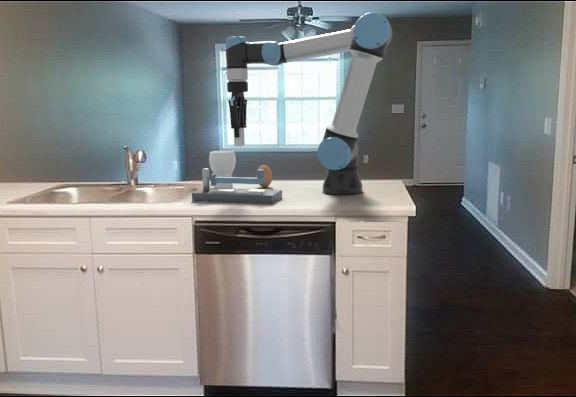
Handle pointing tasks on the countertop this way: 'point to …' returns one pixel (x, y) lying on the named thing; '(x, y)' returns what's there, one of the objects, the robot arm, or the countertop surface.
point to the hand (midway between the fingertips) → (239, 145)
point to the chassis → (234, 194)
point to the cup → (222, 165)
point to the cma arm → (239, 179)
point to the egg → (266, 176)
